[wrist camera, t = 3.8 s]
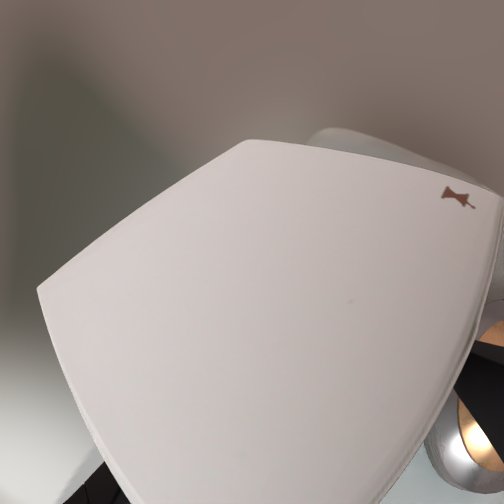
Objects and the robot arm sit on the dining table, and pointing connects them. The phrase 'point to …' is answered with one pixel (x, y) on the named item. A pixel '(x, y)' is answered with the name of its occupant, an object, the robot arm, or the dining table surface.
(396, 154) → the dining table surface
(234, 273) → the supplement box
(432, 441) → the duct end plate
